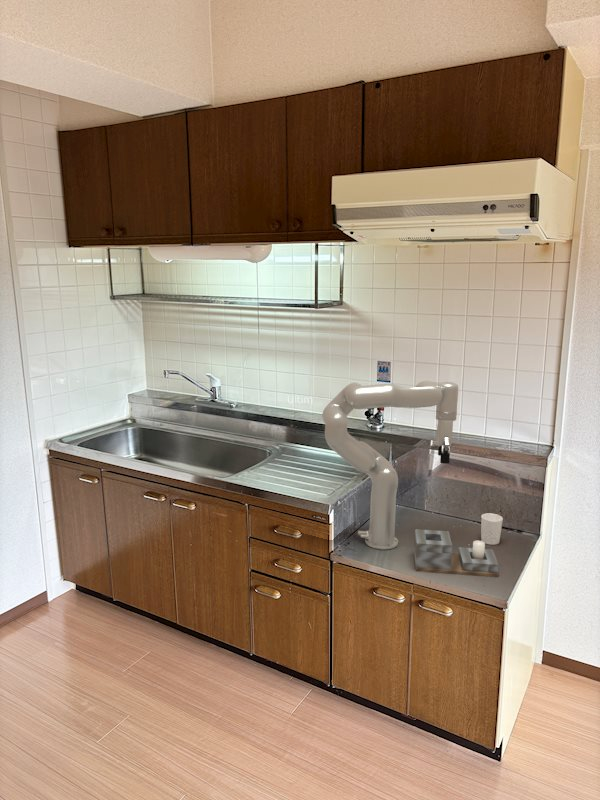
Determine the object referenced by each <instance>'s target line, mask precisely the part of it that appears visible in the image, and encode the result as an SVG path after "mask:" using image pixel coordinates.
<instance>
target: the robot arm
mask: <svg viewBox="0 0 600 800" xmlns="http://www.w3.org/2000/svg"><path fill="white" fill-rule="evenodd" d="M458 397H459V385H458V384H457V383H456V382H453V381H441V382H439V381H438V382H437V381H430V380H423V381H419V382H418V383H417V384H416V385H415V387H413V386H412V387H410V386H409V387H408V386H401V385H397V384H394V383H383V384H369V385H361V384H360V383H358V382H352V383H349V384H348V385H346V386H345V387H344V388H343V389H342V390H341V391H340V392H339V393H338V394H337V395H336V396H335V397H333V398H332V400H331V401H330V402H329V403H328V404H327V405H326V406H325V407H324V409H323V412H322V421H323V422H324V424H325V425H324V438H325V442H326V443H327V445H328V446H329V448H330V449H331V450H332V451H333V452H335V453H336V454H337V455H338V456H339V457H341V459H343V460H344V461H346V462H347V463H348V464H349V465H350V466H351V467H353V469H355V470H356V471H358V472H362V473H364V474H365V475H367V476H368V477H369V479H370V480H371V484H372V485H371V493H370V511H369V528H368V530H357V536H360V538H362V539H364V541H365V542H364V543H365V544H366V545H367V546H368V547H370V548H372V549H375V550H376V549H377V550H391V549H395V548H396V547H398V544H399V540H398V538H397V537H396V536H395V533H396V531H395V529H396V527H395V526H396V503H397V492H398V487H399V486H398V485H399V476H398V473H397V471H396V469H395V468H394V466H393V465H392V464H391V463H390V462H389V460H388V459H386V458H385V457H384V456H383V455H382V454H380V452H378V451H377V450H376V449H374V448H373V447H372V446H371V445H369V444H368V443H367V442H365V441H361V440H357V439H356V438H355V437H354V436H352V435H351V434H350V433H349V431H348V426H349V425H348V424H349V418H348V415H349V414H350V413H351V412H353V410H354V409H355V410H366V409H367V410H368V409H378V408H379V409H381V408H404V409H405V408H406V409H407V408H408V409H409V408H411V409H418V408H420V409H421V408H431V407H434V406H435V420H437V424H436V425H437V426H436V427H437V428H436V437H435V438H436V439H435V441H436V445H437V447H438V448H437V449H438V450H437V455H438V456H440V464H447V465H448V464H450V460H451V459H450V456H451V453H450V447H452V443H453V430H454V429H453V426H454V422H455V421H456V420H457V414H458V401H459V399H458Z"/></svg>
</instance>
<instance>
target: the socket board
mask: <svg viewBox="0 0 600 800" xmlns="http://www.w3.org/2000/svg"><path fill="white" fill-rule="evenodd" d="M413 547H414V549H413V555H414V567H415V572H422V571H423V572H424V573H436V574H438V573H439V574H451V575H452V574H453V575H464V576H465V575H467V576H477V577H479V576H480V577H491V578H492V577H494V578H498V577H499V562H498V560H497V557H496V555H495V552H494V549H491V548H485V550H484V560H482V559H472V552H473V547H462V546H461V547H460V546H459V547H458V553H455V552H454V553H453V543H452V539H451V534H450V531H448V530H436V529H435V530H433V529H418V528H416V529H415V530H414V546H413ZM423 572H422V573H423Z"/></svg>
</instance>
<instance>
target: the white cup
mask: <svg viewBox="0 0 600 800" xmlns="http://www.w3.org/2000/svg"><path fill="white" fill-rule="evenodd" d="M480 517H481V523H480V531H481V532H480V535H481V536H480V538H481V540H480V541H483V542H484V543H485V545H486V544H487V545H492V546H495V545H498V544H500V540H501V535H502V534H501V533H502V528H503V522H504V521H503V516H501V514H496V513H491V512H489V513H483V514H481V516H480Z"/></svg>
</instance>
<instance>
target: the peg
mask: <svg viewBox="0 0 600 800" xmlns="http://www.w3.org/2000/svg"><path fill="white" fill-rule="evenodd" d="M472 548H473V552H472V559H482V560H484V550H485V549H486V543H484V542H483V541H481V540H473V542H472Z"/></svg>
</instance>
